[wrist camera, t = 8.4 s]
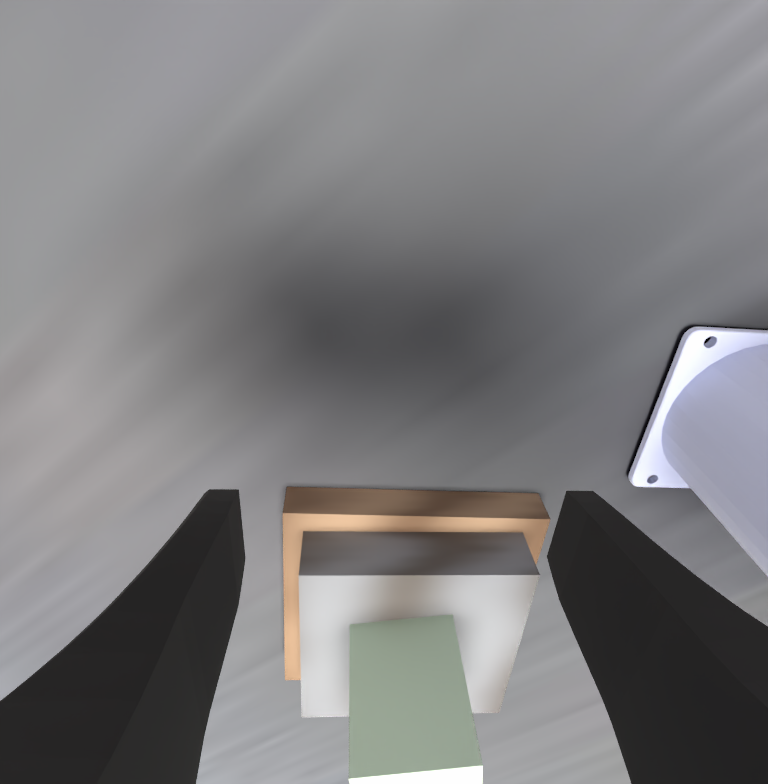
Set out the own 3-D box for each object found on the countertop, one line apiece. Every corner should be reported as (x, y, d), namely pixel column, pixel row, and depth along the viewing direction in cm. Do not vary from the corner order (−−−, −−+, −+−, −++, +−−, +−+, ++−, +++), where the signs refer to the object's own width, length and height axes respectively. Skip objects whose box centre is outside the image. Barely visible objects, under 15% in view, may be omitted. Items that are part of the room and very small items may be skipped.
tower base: (533, 483, 26) (550, 519, 24) (489, 638, 32) (500, 678, 30) (288, 476, 25) (282, 513, 23) (289, 638, 31) (285, 679, 29)
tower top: (522, 532, 24) (539, 574, 22) (487, 666, 29) (499, 712, 27) (303, 531, 23) (298, 575, 21) (305, 669, 28) (301, 717, 26)
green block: (452, 614, 23) (482, 765, 18) (453, 678, 25) (481, 830, 20) (349, 624, 23) (348, 778, 18) (359, 687, 25) (361, 842, 20)
